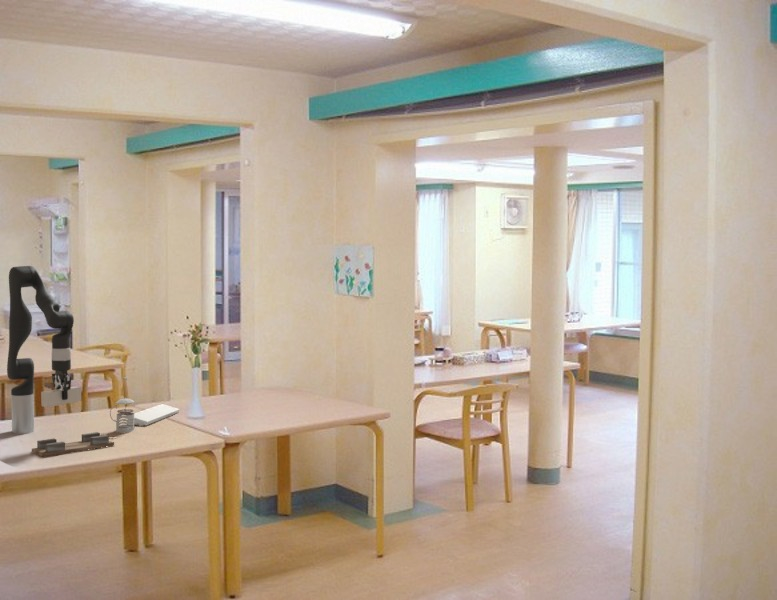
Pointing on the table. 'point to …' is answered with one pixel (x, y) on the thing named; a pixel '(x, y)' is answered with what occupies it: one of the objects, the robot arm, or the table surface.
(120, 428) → the french press
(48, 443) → the dark brown long fixture
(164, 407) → the decorative molding
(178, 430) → the table surface
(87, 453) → the table surface
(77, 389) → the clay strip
